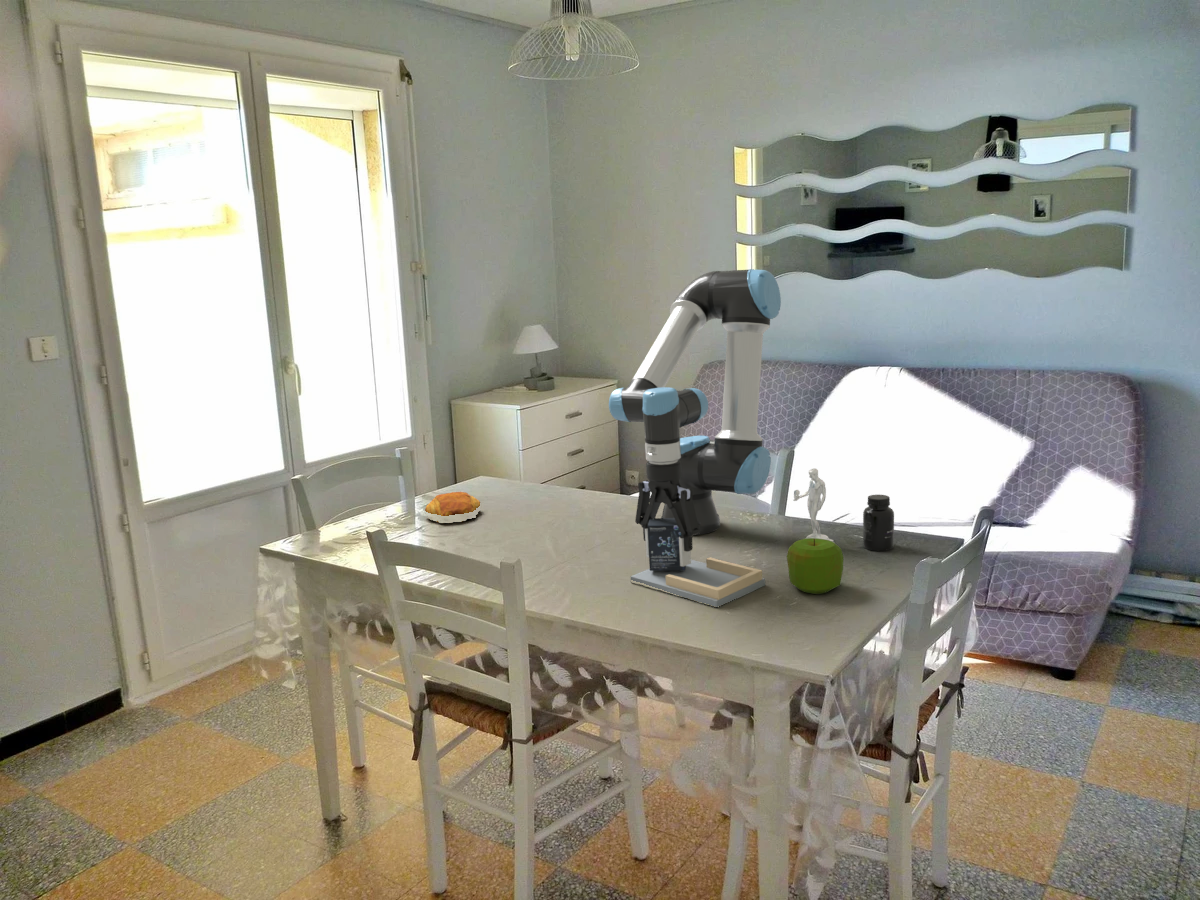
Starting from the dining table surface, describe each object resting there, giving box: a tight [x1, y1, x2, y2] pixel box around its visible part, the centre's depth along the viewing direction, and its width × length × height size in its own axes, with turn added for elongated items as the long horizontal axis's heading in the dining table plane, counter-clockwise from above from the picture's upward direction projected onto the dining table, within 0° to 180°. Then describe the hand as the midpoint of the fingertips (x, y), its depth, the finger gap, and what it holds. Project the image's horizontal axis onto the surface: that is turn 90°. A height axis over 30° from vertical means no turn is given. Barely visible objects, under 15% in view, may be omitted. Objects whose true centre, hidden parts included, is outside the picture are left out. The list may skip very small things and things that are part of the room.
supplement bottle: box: [862, 494, 895, 552], centre depth 218 cm, size 7×7×12 cm
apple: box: [786, 538, 844, 595], centre depth 196 cm, size 11×11×11 cm
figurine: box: [792, 468, 836, 544], centre depth 224 cm, size 8×7×18 cm
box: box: [648, 517, 686, 571], centre depth 208 cm, size 8×6×11 cm
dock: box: [630, 556, 766, 608], centre depth 203 cm, size 24×16×4 cm, turn 44°
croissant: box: [424, 491, 481, 516], centre depth 266 cm, size 14×16×8 cm
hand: (668, 560), depth 209 cm, fingers closed on box, 9 cm apart
